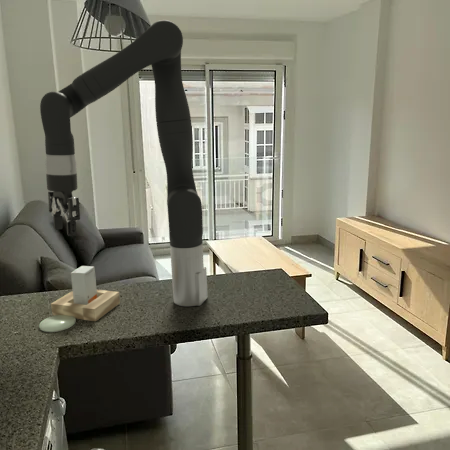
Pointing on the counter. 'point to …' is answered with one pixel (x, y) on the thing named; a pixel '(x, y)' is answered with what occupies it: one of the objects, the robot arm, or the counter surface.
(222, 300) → the counter surface
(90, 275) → the skincare box
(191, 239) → the robot arm
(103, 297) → the pocket block
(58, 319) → the coaster
